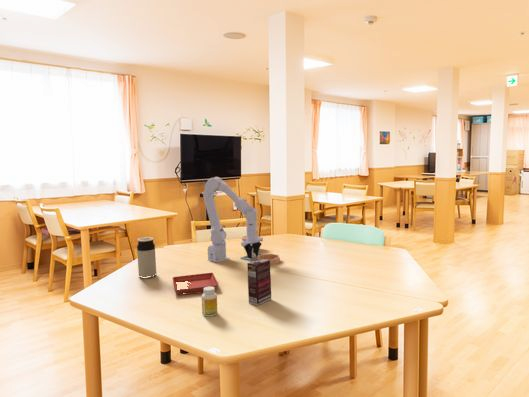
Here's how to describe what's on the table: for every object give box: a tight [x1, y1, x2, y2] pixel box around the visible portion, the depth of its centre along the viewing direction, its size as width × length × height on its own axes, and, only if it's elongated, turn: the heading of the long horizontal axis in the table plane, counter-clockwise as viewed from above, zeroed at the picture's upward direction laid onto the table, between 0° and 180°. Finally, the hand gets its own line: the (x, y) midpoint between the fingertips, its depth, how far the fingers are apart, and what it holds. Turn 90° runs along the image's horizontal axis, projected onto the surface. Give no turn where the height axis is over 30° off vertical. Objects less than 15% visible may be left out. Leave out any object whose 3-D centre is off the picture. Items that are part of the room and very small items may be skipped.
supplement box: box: [246, 258, 272, 307], centre depth 154 cm, size 9×5×16 cm, turn 141°
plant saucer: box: [172, 272, 219, 295], centre depth 173 cm, size 18×18×3 cm
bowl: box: [258, 253, 281, 266], centre depth 208 cm, size 11×11×3 cm
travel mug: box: [136, 236, 157, 277], centre depth 189 cm, size 8×8×18 cm
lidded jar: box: [241, 235, 261, 252], centre depth 233 cm, size 11×11×9 cm
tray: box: [240, 252, 263, 262], centre depth 216 cm, size 12×9×1 cm
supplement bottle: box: [201, 286, 218, 317], centre depth 143 cm, size 5×5×10 cm
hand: (252, 257), depth 213 cm, fingers open, 4 cm apart
